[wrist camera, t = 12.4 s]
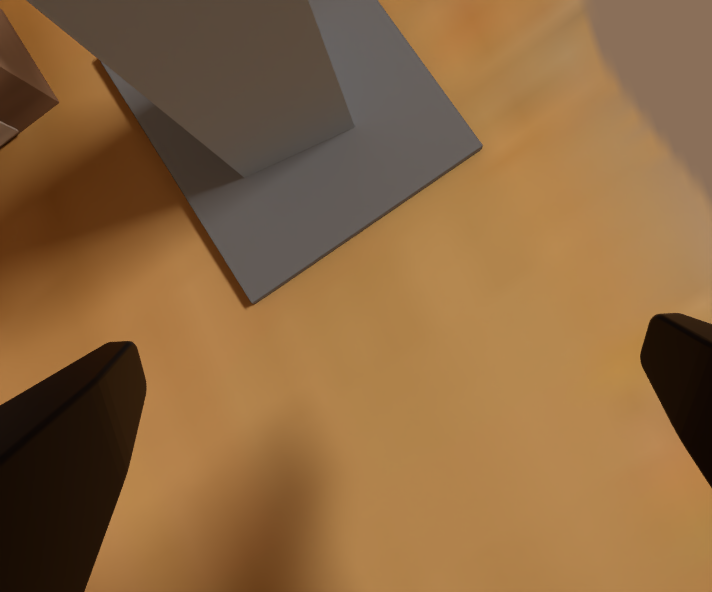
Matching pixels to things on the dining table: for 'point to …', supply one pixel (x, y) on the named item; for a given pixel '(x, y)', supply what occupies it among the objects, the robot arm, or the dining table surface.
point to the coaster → (321, 155)
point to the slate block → (219, 69)
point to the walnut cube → (19, 85)
